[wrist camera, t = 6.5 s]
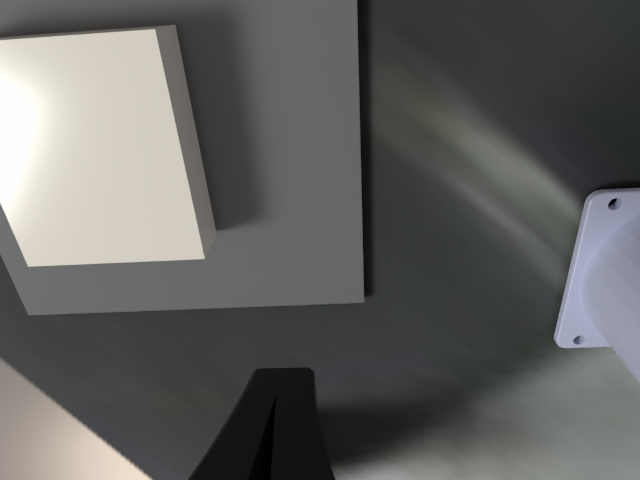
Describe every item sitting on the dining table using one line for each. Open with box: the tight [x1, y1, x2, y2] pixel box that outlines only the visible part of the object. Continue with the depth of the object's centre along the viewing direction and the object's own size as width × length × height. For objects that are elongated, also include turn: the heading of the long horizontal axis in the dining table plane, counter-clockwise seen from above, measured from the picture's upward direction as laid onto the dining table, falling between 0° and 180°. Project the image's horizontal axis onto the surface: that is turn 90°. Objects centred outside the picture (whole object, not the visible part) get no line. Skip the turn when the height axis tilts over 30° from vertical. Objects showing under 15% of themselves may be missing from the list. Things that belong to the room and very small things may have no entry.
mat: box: [0, 0, 364, 315], centre depth 18 cm, size 16×16×1 cm
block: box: [0, 25, 217, 267], centre depth 17 cm, size 2×8×7 cm
